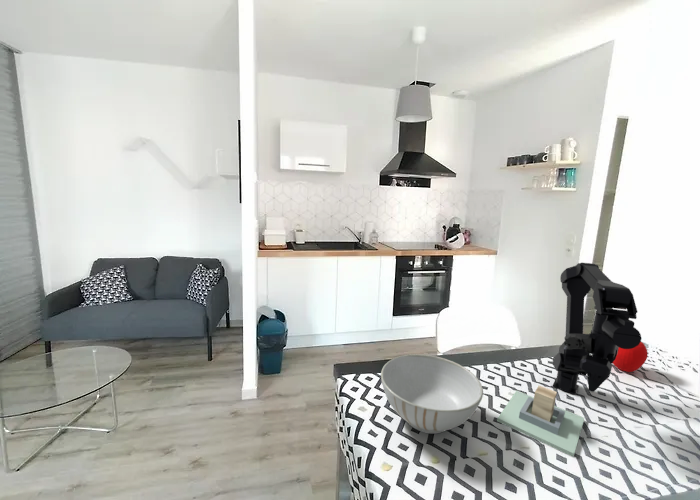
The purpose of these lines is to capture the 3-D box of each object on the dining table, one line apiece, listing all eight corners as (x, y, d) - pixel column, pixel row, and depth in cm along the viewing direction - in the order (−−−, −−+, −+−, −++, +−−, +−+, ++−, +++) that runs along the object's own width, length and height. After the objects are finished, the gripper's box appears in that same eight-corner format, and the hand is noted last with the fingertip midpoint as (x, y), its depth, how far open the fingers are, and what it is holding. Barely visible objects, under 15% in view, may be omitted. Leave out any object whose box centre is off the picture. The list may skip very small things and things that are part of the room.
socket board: (516, 393, 107) (517, 384, 106) (583, 420, 95) (585, 411, 95) (497, 421, 93) (498, 411, 93) (573, 457, 82) (575, 446, 81)
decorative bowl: (401, 465, 77) (406, 418, 75) (365, 394, 102) (368, 358, 100) (500, 446, 84) (506, 403, 82) (443, 384, 110) (447, 350, 107)
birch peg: (534, 410, 97) (538, 385, 96) (552, 417, 94) (556, 392, 93) (530, 417, 94) (534, 392, 92) (548, 425, 91) (553, 399, 89)
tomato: (610, 372, 122) (617, 339, 120) (601, 359, 132) (607, 328, 129) (648, 380, 118) (657, 346, 115) (636, 366, 128) (644, 334, 125)
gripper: (577, 313, 101) (568, 360, 105) (562, 331, 88) (552, 385, 91) (623, 325, 94) (612, 375, 97) (615, 347, 81) (602, 404, 84)
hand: (594, 384), depth 92 cm, fingers open, 9 cm apart
